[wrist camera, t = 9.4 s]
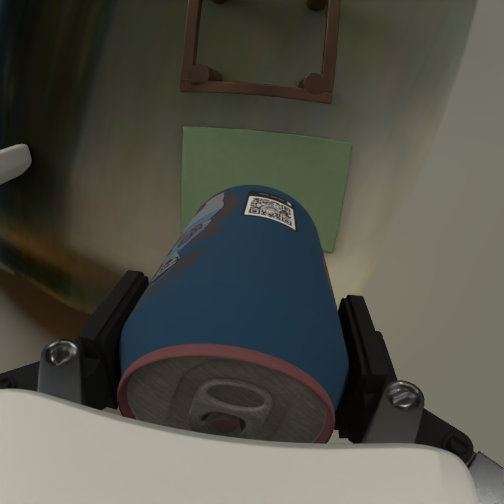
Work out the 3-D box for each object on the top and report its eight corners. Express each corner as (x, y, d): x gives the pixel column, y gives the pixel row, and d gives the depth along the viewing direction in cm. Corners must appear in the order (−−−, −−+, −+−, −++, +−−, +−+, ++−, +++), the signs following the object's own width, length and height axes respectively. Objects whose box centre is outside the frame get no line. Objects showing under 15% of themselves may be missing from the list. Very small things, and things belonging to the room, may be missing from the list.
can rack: (196, 93, 24) (179, 91, 20) (207, -16, 20) (193, -37, 15) (321, 103, 24) (331, 104, 19) (331, -7, 19) (342, -27, 15)
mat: (182, 234, 30) (181, 236, 30) (184, 126, 26) (183, 126, 25) (332, 250, 30) (333, 252, 29) (351, 142, 25) (352, 143, 25)
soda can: (291, 305, 20) (294, 491, 9) (181, 272, 19) (101, 443, 9) (335, 202, 17) (414, 374, 6) (209, 161, 16) (91, 284, 6)
